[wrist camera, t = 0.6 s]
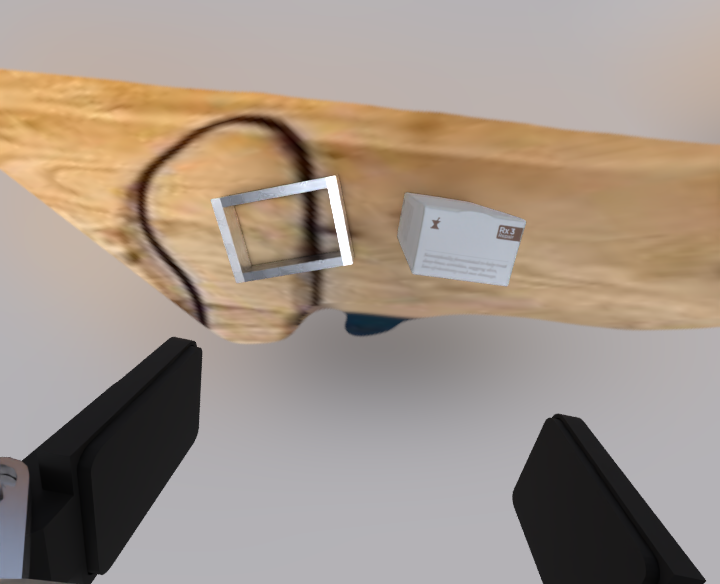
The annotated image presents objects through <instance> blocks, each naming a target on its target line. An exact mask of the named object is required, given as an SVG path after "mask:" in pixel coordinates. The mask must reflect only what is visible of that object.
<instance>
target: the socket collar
mask: <svg viewBox="0 0 720 584" xmlns="http://www.w3.org/2000/svg"><path fill="white" fill-rule="evenodd" d="M324 188H328V191H329V196H330V201H331V206H332V211H333V216H334V221H335V226H336V231H337V236H338V241H339V245H340V250H341V251H335V252H329V253H324V254H318V255H312V256H306V257H300V258H294V259H288V260H282V261H276V262H270V263H264V264H258V265H253V266H252V265H251V262H250V258H249V255H248V252H247V248H246V245H245V241H244V238H243V234H242V231H241V227H240V224H239V221H238V217H237V214H236V210H235V207H234V205H239V204H244V203H249V202H255V201H260V200H265V199H271V198H276V197H281V196H287V195H292V194H297V193H302V192H308V191H313V190H318V189H324ZM211 203H212V206H213V209H214V212H215V216H216V219H217V222H218V225H219V229H220V232H221V235H222V238H223V241H224V245H225V248H226V251H227V254H228V258H229V261H230V264H231V267H232V271H233V274H234V277H235V280H236V283H241V282H247V281H253V280H259V279H265V278H271V277H277V276H283V275H289V274H295V273H301V272H308V271H314V270H320V269H326V268H332V267H338V266H344V265H350V264H353V261H354V252H353V247H352V242H351V236H350V231H349V226H348V221H347V216H346V210H345V205H344V200H343V195H342V190H341V184H340V179H339V175H334V176H328V177H323V178H318V179H313V180H307V181H302V182H297V183H292V184H287V185H281V186H276V187H271V188H266V189H260V190H255V191H250V192H245V193H239V194H234V195H229V196H224V197H219V198H215V199H211Z"/></svg>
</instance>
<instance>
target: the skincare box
mask: <svg viewBox="0 0 720 584" xmlns="http://www.w3.org/2000/svg"><path fill="white" fill-rule="evenodd" d="M525 225H526V221H525V220H524V219H521V218H519V217H516V216H513V215H510V214H507V213H503V212H500V211H497V210H494V209H490V208H487V207H484V206H481V205H477V204H474V203H471V202H466V201H460V200H455V199H449V198H442V197H436V196H429V195H422V194H415V193H408V192H406V193H405V195H404V200H403V205H402V211H401V216H400V222H399V227H398V234H397V238H398V240H399V243H400V245H401V247H402V250H403V252H404V255H405V257H406V260H407V262H408V264H409V267H410V270H411V272H412V273H413V274H416V275H424V276H432V277H439V278H447V279H455V280H462V281H470V282H477V283H486V284H493V285H502V286H508V284H509V280H510V276H511V273H512V269H513V266H514V262H515V259H516V255H517V251H518V248H519V245H520V241H521V238H522V234H523V231H524V228H525Z"/></svg>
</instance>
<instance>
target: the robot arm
mask: <svg viewBox="0 0 720 584" xmlns="http://www.w3.org/2000/svg"><path fill="white" fill-rule="evenodd" d="M201 370H202V349H201V348H199V347H197V345H196V342H195V341H192V340H187V339H182V338H177V337H171V338H169V339H168V340H167V341H166V342H165V343H163V344H162V345H161V346H160V347H159V348H158V349H156V350H155V351H154V352H153V353H152V354H151V355H149V356H148V357H147V358H146V359H144V360H143V361H142V362H141V363H140V364H138V365H137V366H136V367H135V368H134V369H132V371H130V372H129V373H128V374H126V376H124V377H123V378H122V379H121V380H119V381H118V382H116V383H115V384H113V385H112V386H111V387H110V388H108V389H107V390H106V391H105V392H104V393H102V394H101V395H100V396H99V397H98V398H96V399H95V400H94V401H93V402H92V403H90V404H89V405H88V406H87V407H86V408H85V409H83V410H82V411H81V412H80V413H79V414H77V415H76V416H75V417H74V418H73V419H71V420H70V421H69V422H68V423H67V424H65V425H64V426H63V427H62V428H61V429H59V430H58V431H57V432H56V433H55V434H53V435H52V436H51V437H50V438H49V439H47V440H46V441H45V442H44V443H43V444H41V445H40V446H39V447H38V448H37V449H36V450H34V451H33V452H32V453H31V454H30V455H28V456H27V457H26V458H25V459H23V460H22V461H20V460H17V459H13V458H10V457H0V584H91V583H92V581H93V580H94V578H95V577H96V576H97V574H100V575H103V574H105V573H106V572H107V571H108V570H109V569H110V567H111V566H112V565H113V563H114V562H115V560H116V559H117V557H118V556H119V554H120V553H121V551H122V550H123V548H124V547H125V545H126V543H127V542H128V541H129V539H130V538H131V536H132V535H133V533H134V532H135V530H136V529H137V527H138V526H139V524H140V523H141V521H142V520H143V518H144V516H145V515H146V514H147V512H148V511H149V509H150V508H151V506H152V505H153V503H154V502H155V500H156V498H157V497H158V496H159V494H160V493H161V491H162V490H163V488H164V487H165V485H166V484H167V482H168V481H169V479H170V478H171V476H172V475H173V473H174V472H175V470H176V469H177V467H178V466H179V464H180V463H181V461H182V460H183V458H184V457H185V455H186V454H187V452H188V450H189V449H190V448H191V446H192V445H193V443H194V441H195V439H196V437H197V434H198V429H199V412H200V390H201ZM512 497H513V505H514V508H515V511H516V513H517V516H518V519H519V521H520V524H521V527H522V529H523V532H524V535H525V537H526V540H527V542H528V545H529V548H530V550H531V553H532V556H533V558H534V561H535V564H536V566H537V569H538V571H539V574H540V577H541V579H542V582H543V584H704V583H705V582H706V580H705V578H704V577H703V576H702V575H701V573H700V572H699V571H698V569H697V568H696V567H695V566H694V564H693V563H692V562H691V560H690V559H689V558H688V556H687V555H686V554H685V553H684V551H683V550H682V549H681V547H680V546H679V545H678V544H677V542H676V541H675V539H674V538H673V537H672V536H671V534H670V533H669V532H668V530H667V529H666V528H665V526H664V525H663V524H662V523H661V521H660V520H659V519H658V517H657V516H656V515H655V514H654V512H653V511H652V510H651V508H650V507H649V506H648V504H647V503H646V502H645V500H644V499H643V498H642V497H641V495H640V494H639V493H638V491H637V490H636V489H635V488H634V486H633V485H632V484H631V482H630V481H629V480H628V478H627V477H626V476H625V475H624V473H623V472H622V471H621V469H620V468H619V467H618V466H617V464H616V463H615V462H614V460H613V459H612V458H611V456H610V455H609V454H608V452H607V451H606V450H605V449H604V447H603V446H602V445H601V443H600V442H599V441H598V439H597V438H596V437H595V436H594V434H593V433H592V432H591V430H590V429H589V428H588V427H587V425H586V424H585V423H584V421H583V420H582V419H580V418H577V417H572V416H567V415H562V414H555V415H554V416H553V417H552V418H548V419H546V421H545V423H544V425H543V427H542V429H541V432H540V434H539V436H538V438H537V441H536V442H535V445H534V447H533V449H532V451H531V453H530V455H529V458H528V460H527V462H526V464H525V466H524V469H523V471H522V473H521V475H520V477H519V480H518V482H517V484H516V486H515V488H514V491H513V496H512Z"/></svg>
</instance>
